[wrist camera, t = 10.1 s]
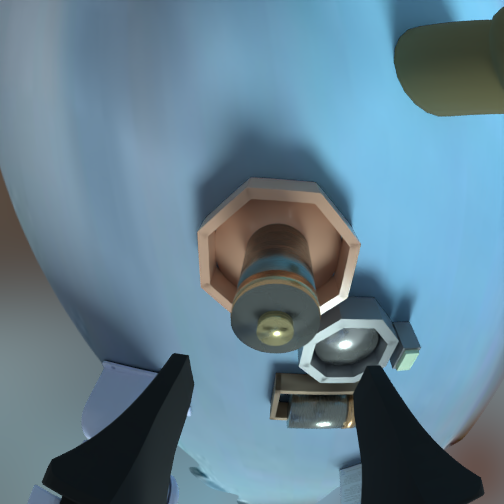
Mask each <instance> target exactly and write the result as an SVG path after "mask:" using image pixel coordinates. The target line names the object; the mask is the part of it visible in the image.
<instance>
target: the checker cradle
mask: <svg viewBox="0 0 504 504" xmlns="http://www.w3.org/2000/svg"><path fill="white" fill-rule="evenodd" d="M343 328H375V329H376V330H377V333H378V343H377V345H376V347H375V349H374V350H373V351H372V353H371V354H369V355H368V356H367V357H366V358H364V359H362V360H360V361H358V362H356V363H353V364H348V365H331V364H328V363H325V362H324V361H322V360H321V359H320V358H319V357H318V356H317V354H316V351H315V344H316V343H318V342H320V341H322V340H323V339H325V338H327V337H329V336H331V335H332V334H334V333H336V332H337V331H339V330H341V329H343ZM420 348H421V347H420V344H419V342H418V340H417V337H416V335H415V333H414V330H413V328H412V326H411V324H410V322H393V324H392V322H391V320H390V318H389V317H388V315H387V314H386V313H385V311H384V310H383V309H382V307H381V306H380V305H379V303H378V302H377V301H376V299H375V298H374V297H350V296H348V298H347V299H345V300H344V301H342V302H340V303H339V304H337V305H336V306H334V307H333V308H331V309H329V310H328V311H326V312H325V313H323V314H321V319H320V327H319V330H318V332H317V334H316V335H315V337H314V338H313V339H312V340H311V341H310V342H309V343H308V344H306V345H305V346H303V347H301V348H299V349H298V360H299V367H300V368H301V369H302V370H304V371H305V372H306V373H308V374H309V375H310V376H312V377H313V378H314V379H316V380H317V381H318V382H320V383H355V382H357V381H359V380H360V379H361V377H362V375H363V373H364V371H365V368H366V366H373V365H380V366H381V367H382V368H384V367H386V365H387V363H388V361H389V359H390V362H391V365H392V369H396V370H397V371H401V370H410V368H411V366H412V365H413V363H414V361H415V360H416V358H417V356H418V355H419V350H420Z"/></svg>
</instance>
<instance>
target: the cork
mask: <svg viewBox="0 0 504 504" xmlns="http://www.w3.org/2000/svg"><path fill="white" fill-rule="evenodd" d="M394 64H395V68H396V73H397V77H398V79H399V81H400V83H401V85H402V87H403V89H404V91H405V93H406V94H407V95H408V96H409V97H410V99H411V100H412V101H413V102H414V103H415V104H416V105H417V106H419V107H420V108H421V109H423V110H424V111H426V112H427V113H430V114H433V115H436V116H461V115H479V114H504V7H502V8H501V9H500V10H499V11H498V12H497V13H496V14H495V15H494V16H493V18H492V20H472V21H458V22H448V23H439V24H432V25H425V26H419V27H416V28H412V29H409V30H407V31H406V32H405V33H404V34H403V35H402V36H401V37H400V38H399V40H398V43H397V45H396V47H395V56H394Z"/></svg>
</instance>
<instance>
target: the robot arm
mask: <svg viewBox="0 0 504 504" xmlns="http://www.w3.org/2000/svg"><path fill="white" fill-rule="evenodd" d="M102 365H103V367H104V369H103V371H102V373H101V375H100V377H99V379H98V381H97V383H96V385H95V387H94V389H93V391H92V393H91V394H90V396H89V398H88V400H87V402H86V405H85V407H84V410H83V414H82V429H83V432H84V434H85V436H86V437H87V438H88V439H89V440H84V441H83V443H82V444H81V445H79V446H78V447H76V448H74V449H72V450H70V451H68V452H66V453H64V454H62V455H60V456H58V457H56V458H54V459H52V461H51V462H50V464H49V466H48V468H47V471H46V473H45V475H44V478H43V480H42V483H43V485H45V486H46V487H48V488H50V489H51V490H53V491H55V492H57V493H58V494H60V495H62V498H59V497H57V496H55V495H53V494H51V493H50V492H48V491H46V490H44V489H43V488H41V487H39V486H38V485H34V487H33V490H32V492H31V495H30V497H29V500H28V503H27V504H177V503H178V497H179V488H178V484H177V483H176V480H175V478H174V476H172V475H171V470H172V464H173V460H174V455H175V451H176V447H177V444H178V441H179V438H180V435H181V432H182V429H183V426H184V423H185V420H186V417H187V416H191V414H192V412H191V408H190V403H191V398H192V393H193V388H194V380H193V376H192V371H191V366H190V360H189V355H183V354H177V353H174V354H172V355H171V357H170V358H169V360H168V361H167V362H166V364H165V365H164V366H163V368H162V369H161V370H160V372H159V373H155V372H150V371H146V370H141V369H137V368H132V367H128V366H124V365H120V364H116V363H112V362H108V361H103V363H102ZM353 403H354V417H355V423H356V429H357V435H358V441H359V448H360V454H361V464H362V489H361V504H468V503H470V502H472V501H473V500H475V499H477V498H479V497H481V496H483V495H484V489H483V484H482V480H481V477H479V476H477V475H476V474H474V473H473V472H471V471H470V470H468V469H466V468H465V467H464V466H462V465H461V464H460V463H458V462H457V461H456V460H455V459H453V458H452V457H451V456H450V455H449V454H448V453H447V452H446V451H445V450H443V449H442V448H441V447H440V446H439V445H438V444H437V443H436V442H435V441H434V440H433V439H432V437H431V436H430V435H429V434H428V433H427V432H426V431H425V429H424V428H423V427H422V426H421V425H420V423H419V422H418V421H417V419H416V418H415V417H414V415H413V414H412V413H411V411H410V410H409V408H408V407H407V405H406V404H405V403H404V401H403V400H402V398H401V397H400V395H399V394H398V392H397V391H396V389H395V387H394V386H393V384H392V383H391V381H390V380H389V378H388V376H387V375H386V373H385V372H384V370H383V368H382V367H381V366H380V365H373V366H366V368H365V371H364V373H363V375H362V377H361V379H360V381H359V383H358V385H357V387H356V389H355V391H354V392H353Z"/></svg>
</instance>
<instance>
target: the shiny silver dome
mask: <svg viewBox="0 0 504 504" xmlns="http://www.w3.org/2000/svg"><path fill="white" fill-rule="evenodd" d="M377 343H378V333H377V330H376V329H375V328H343V329H341V330H339V331H337V332H336V333H334V334H332V335H331V336H329V337H327V338H325V339H323V340H322V341H320V342H318V343H316V344H315V351H316V354H317V356H318V357H319V358H320V359H321V360H322V361H324V362H325V363H328V364H331V365H348V364H353V363H356V362H358V361H360V360H362V359H364V358H366V357H367V356H368V355H369V354H371V353H372V351H373V350H374V349H375V347H376V345H377Z"/></svg>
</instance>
